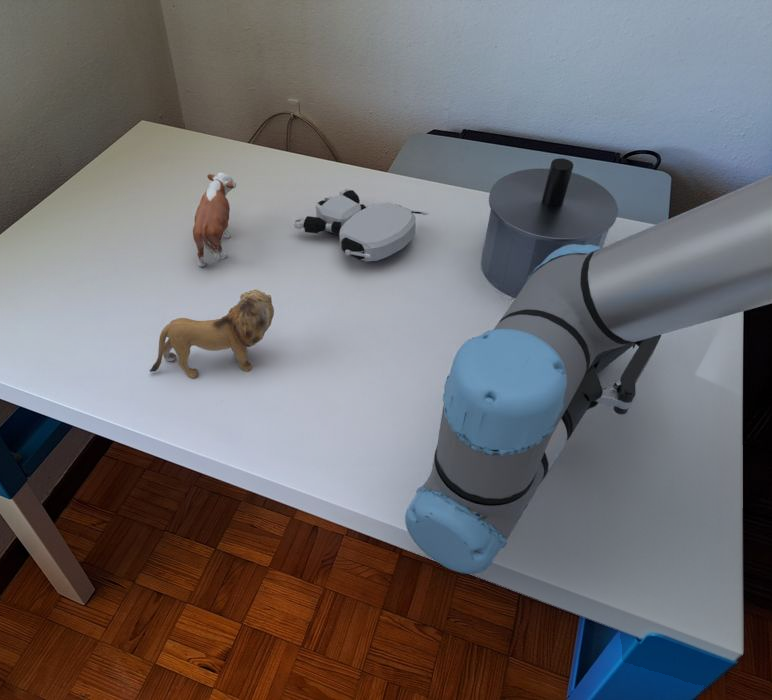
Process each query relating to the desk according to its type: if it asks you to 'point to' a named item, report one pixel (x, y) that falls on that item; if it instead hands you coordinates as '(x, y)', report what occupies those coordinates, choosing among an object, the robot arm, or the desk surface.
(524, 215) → the pot lid
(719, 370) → the desk surface
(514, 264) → the pot
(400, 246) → the robot toy
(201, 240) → the bull figurine
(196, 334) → the lion figurine
